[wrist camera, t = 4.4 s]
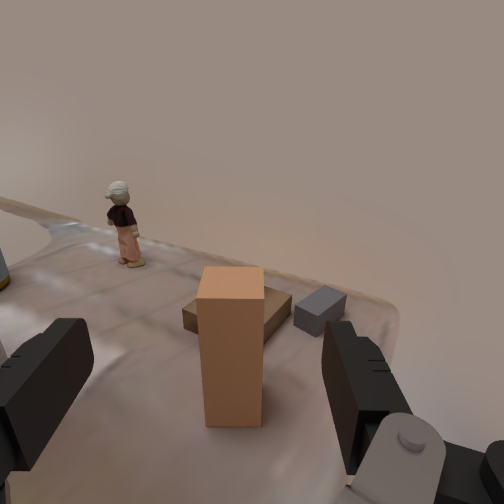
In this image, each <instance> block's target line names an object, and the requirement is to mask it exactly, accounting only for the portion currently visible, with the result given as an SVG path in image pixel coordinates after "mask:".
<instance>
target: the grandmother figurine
mask: <svg viewBox="0 0 504 504" xmlns="http://www.w3.org/2000/svg"><path fill="white" fill-rule="evenodd" d="M105 198H107V199H109V198H110V199H111V200H112V202H113V203H114V204H115V205H114V206H113V207H112V208H110V210H109V212H108V213H107V216H108V224H109V225H111V226H112V225H115V226H116V228H117V231H118V240H119V247H120V254H121V258H120V259H119V263H121V264H125V263H128V264H127V266H128V267H129V268H132V267H138V266H142V265H144V264H145V263H146V262H145V260H144V259H143V258H139V257H138V256H140V255H141V252H140V249H139V245H138V242H137V239H136V238H137V237H139V232H138V228H137V222H136V220H135V218H134V215H133V212H132V210H131V209H130V208H129V207H127V206H126V204H127V203H128V202H129V199H130V196H129V193H128V185H127V184H126V183H124V182H123V181H116V182H114V183H112V184H111V185H110V186H109V188H108V189H107V192H106V194H105Z"/></svg>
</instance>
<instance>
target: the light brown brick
mask: <svg viewBox="0 0 504 504" xmlns="http://www.w3.org/2000/svg"><path fill="white" fill-rule="evenodd" d="M196 308H197V321H198V334H199V346H200V359H201V372H202V385H203V397H204V410H205V423H206V426H214V427H261V418H262V378H263V337H264V275H263V267H215V266H205V269H204V272H203V276H202V279H201V282H200V286H199V289H198V292H197V296H196Z"/></svg>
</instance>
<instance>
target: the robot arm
mask: <svg viewBox="0 0 504 504" xmlns="http://www.w3.org/2000/svg"><path fill="white" fill-rule="evenodd" d="M321 363H322V375H323V380H324V384H325V388H326V392H327V396H328V400H329V404H330V408H331V412H332V416H333V420H334V424H335V428H336V432H337V437H338V441H339V445H340V449H341V453H342V457H343V461H344V465H345V469H346V473H347V475H355V477H354V479H353V481H352V483H351V484H350V486H349V485H346V486H345V487H344V488H343V490H342V492H341V493H340V495H339V497H338V499H337V501H336V503H335V504H504V440H500V441H495V442H493V443H491V444H490V445H489V446H488V448H487V450H486V452H485V453H482V452H479V451H476V450H472V449H469V448H465V447H462V446H459V445H455V444H452V443H449V442H446V441H444V440H443V439H442V437H441V436H440V435H439V433H438V432H437V431H436V430H435V429H434V428H433V427H432V426H431V425H430V424H429V423H427V422H426V421H424V420H422V419H421V418H419V417H416V416H414V415H413V413H412V411H411V409H410V408H409V405H408V403H407V401H406V399H405V397H404V395H403V394H402V392H401V390H400V388H399V386H398V384H397V382H396V380H395V378H394V376H393V374H392V373H391V370H390V368H389V366H388V364H387V362H385V358H384V356H383V354H382V352H381V350H380V348H379V347H378V346H377V345H376V344H375V343H373V342H372V341H371V340H370V339H369V338H368V337H357V335H356V332H355V330H354V328H353V326H352V323H351V322H350V321H327V322H326V325H325V332H324V341H323V350H322V362H321ZM93 364H94V354H93V350H92V345H91V341H90V337H89V332H88V328H87V324H86V322H85V320H84V319H82V318H58V319H56V320H55V321H54V322H53V323H52V324H51V325H50V326H49V327H48V328H47V329H46V330H45V331H44V332H43V333H39V334H38V335H36V336H34V337H33V338H31V339H29V340H28V341H26V342H25V343H23V344H22V345H21V346H20V347H19V348H18V349H17V350H16V351H15V352H14V353H13V354H12V355H11V358H7V355H6V353H5V350H4V348H3V345H2V343H1V340H0V504H11V496H10V486H9V483H8V481H7V477H8V475H9V474H10V472H11V471H31V469H32V467H33V466H34V464H35V462H36V461H37V459H38V458H39V456H40V454H41V453H42V451H43V450H44V448H45V446H46V445H47V443H48V442H49V440H50V438H51V437H52V435H53V434H54V432H55V430H56V429H57V427H58V426H59V424H60V422H61V421H62V419H63V418H64V416H65V414H66V413H67V411H68V409H69V408H70V406H71V405H72V403H73V401H74V400H75V398H76V397H77V395H78V393H79V392H80V390H81V389H82V387H83V385H84V384H85V382H86V381H87V379H88V377H89V376H90V374H91V372H92V369H93Z"/></svg>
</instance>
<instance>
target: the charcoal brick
mask: <svg viewBox="0 0 504 504" xmlns="http://www.w3.org/2000/svg"><path fill="white" fill-rule="evenodd" d="M346 297H347V294H345V293H343V292H340V291H338V290H336V289H333V288H331V287H329V286H326V285H324V286H323V287H321V288H320V289H318V290H317V291H315V292H314V293H312V294H311V295H309V296H308V297H306V298H304V299H303V300H301V301H300V302H298V303H297V304H295V312H294V326H296V327H298V328H299V329H301V330H303V331H305V332H307V333H308V334H310V335H312V336H314V337H316V336H318V335H319V334H320V333H321V332H323V331H324V330H325V325H326V322H327V321H336V320H337V319H339V318H340V317H341V316H342V315H343V314H344V310H345V303H346Z"/></svg>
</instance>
